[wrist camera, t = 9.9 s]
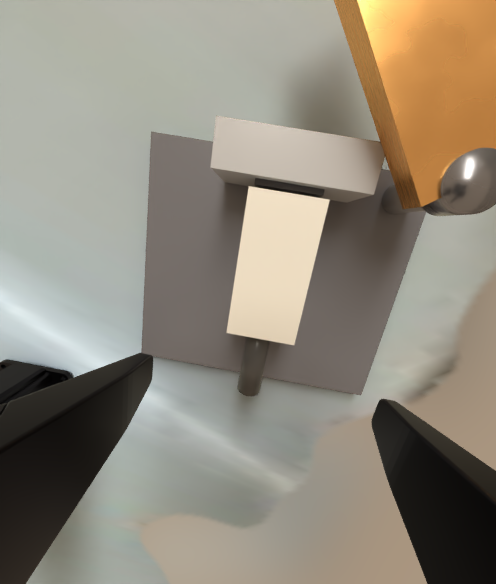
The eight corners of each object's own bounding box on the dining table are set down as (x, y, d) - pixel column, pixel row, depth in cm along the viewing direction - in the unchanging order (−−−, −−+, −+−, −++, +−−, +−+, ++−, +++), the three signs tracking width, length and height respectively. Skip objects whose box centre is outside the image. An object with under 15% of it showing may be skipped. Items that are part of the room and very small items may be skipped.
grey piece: (356, 386, 20) (385, 438, 15) (147, 347, 20) (110, 385, 16) (427, 181, 15) (500, 160, 11) (158, 137, 16) (111, 99, 11)
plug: (275, 376, 19) (277, 414, 15) (225, 367, 19) (215, 402, 15) (313, 206, 15) (329, 199, 12) (253, 196, 15) (248, 186, 12)
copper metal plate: (409, 232, 12) (432, 233, 10) (300, -97, 9) (308, -170, 7) (498, 192, 11) (540, 186, 9) (410, -181, 8) (447, -284, 6)
